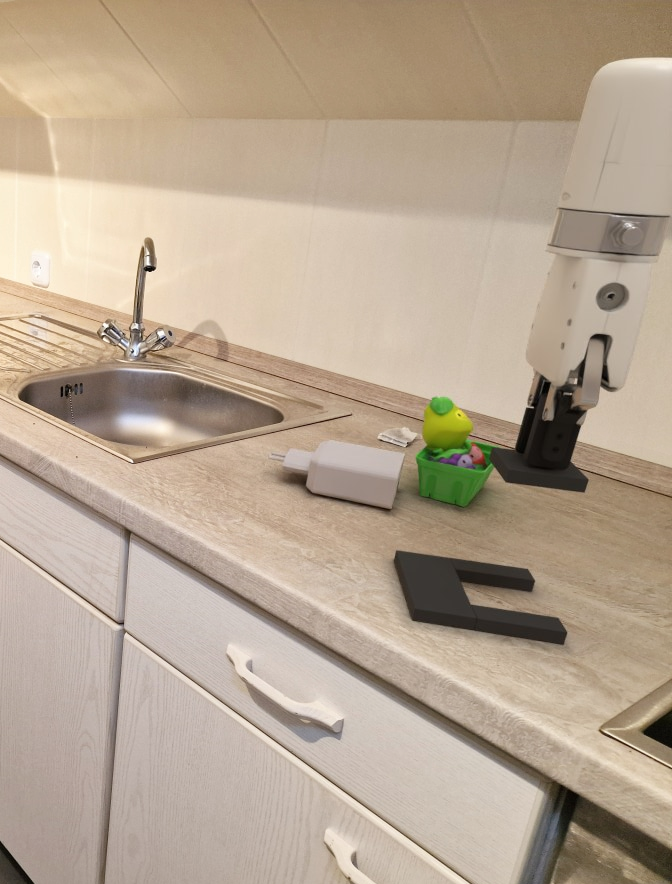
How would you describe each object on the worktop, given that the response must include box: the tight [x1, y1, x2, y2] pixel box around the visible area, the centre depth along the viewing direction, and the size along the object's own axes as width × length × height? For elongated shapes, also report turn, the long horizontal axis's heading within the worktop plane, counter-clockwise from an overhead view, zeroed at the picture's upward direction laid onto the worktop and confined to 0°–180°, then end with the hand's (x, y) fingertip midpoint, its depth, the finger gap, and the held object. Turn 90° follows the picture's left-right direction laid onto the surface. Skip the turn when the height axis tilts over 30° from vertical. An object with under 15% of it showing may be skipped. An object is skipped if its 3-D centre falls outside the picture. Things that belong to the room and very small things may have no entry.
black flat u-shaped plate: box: [393, 549, 569, 645], centre depth 78 cm, size 12×12×1 cm
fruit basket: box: [415, 396, 501, 508], centre depth 102 cm, size 11×9×11 cm
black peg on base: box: [489, 393, 590, 493], centre depth 72 cm, size 6×6×7 cm
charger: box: [267, 439, 406, 510], centre depth 102 cm, size 5×9×15 cm
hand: (540, 458), depth 72 cm, fingers closed on black peg on base, 2 cm apart
